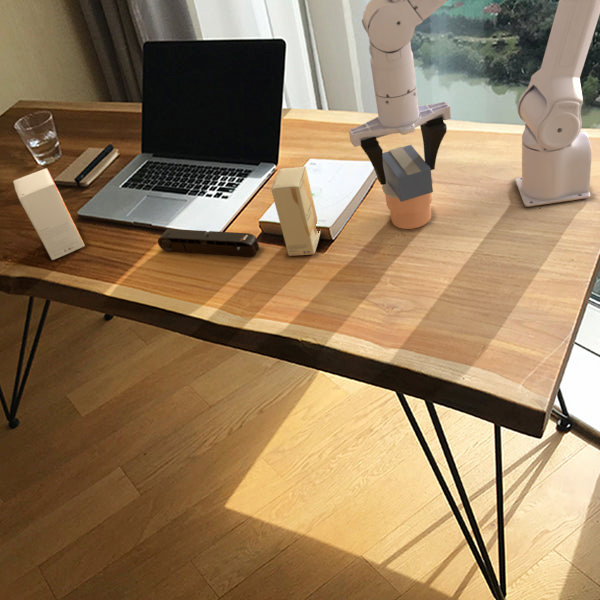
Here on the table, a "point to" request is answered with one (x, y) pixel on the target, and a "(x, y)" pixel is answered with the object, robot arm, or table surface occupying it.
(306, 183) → the cosmetic box
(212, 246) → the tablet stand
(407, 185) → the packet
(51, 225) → the small box
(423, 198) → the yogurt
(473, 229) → the table surface
